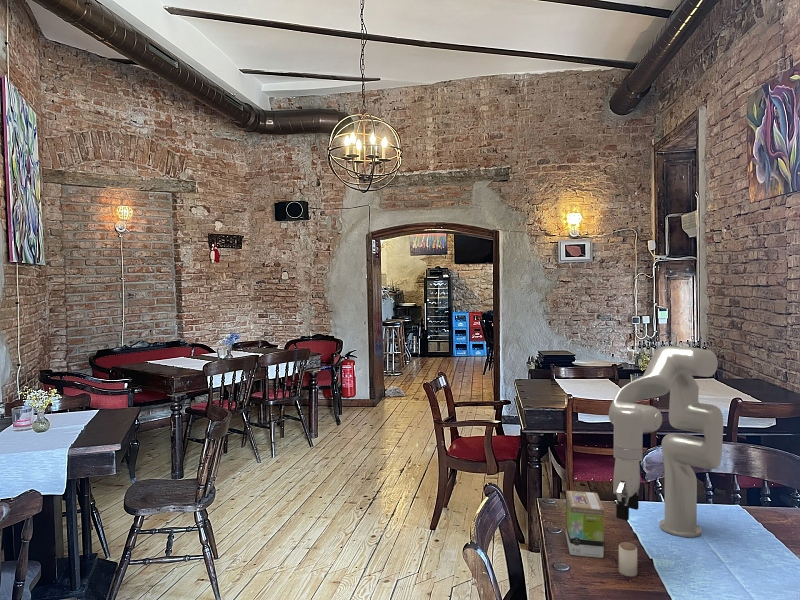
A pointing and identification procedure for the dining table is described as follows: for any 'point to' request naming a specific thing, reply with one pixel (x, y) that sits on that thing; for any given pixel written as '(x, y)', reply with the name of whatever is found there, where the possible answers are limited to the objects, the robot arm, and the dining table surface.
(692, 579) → the dining table surface
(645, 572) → the dining table surface
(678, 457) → the robot arm
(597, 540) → the tea box
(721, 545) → the dining table surface
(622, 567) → the jar
